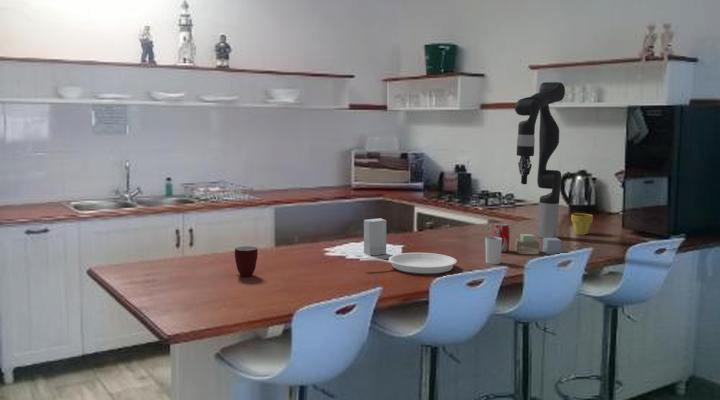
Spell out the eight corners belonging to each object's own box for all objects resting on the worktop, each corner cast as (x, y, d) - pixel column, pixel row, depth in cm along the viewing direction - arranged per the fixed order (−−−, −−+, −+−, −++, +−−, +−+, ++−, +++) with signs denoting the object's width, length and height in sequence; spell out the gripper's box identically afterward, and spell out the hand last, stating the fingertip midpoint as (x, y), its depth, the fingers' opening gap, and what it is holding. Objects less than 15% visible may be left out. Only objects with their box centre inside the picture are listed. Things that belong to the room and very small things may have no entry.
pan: (468, 274, 247) (468, 261, 246) (369, 280, 236) (370, 267, 235) (440, 259, 272) (440, 248, 271) (350, 264, 261) (350, 252, 260)
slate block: (542, 251, 291) (543, 237, 290) (555, 251, 291) (556, 237, 291) (547, 253, 285) (547, 240, 284) (560, 254, 285) (561, 240, 285)
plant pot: (591, 236, 330) (592, 216, 328) (570, 234, 333) (571, 215, 332) (591, 232, 339) (593, 214, 338) (570, 231, 343) (571, 212, 342)
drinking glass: (497, 265, 262) (498, 240, 260) (482, 263, 265) (482, 238, 264) (503, 262, 267) (504, 237, 266) (488, 260, 271) (488, 236, 269)
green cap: (519, 245, 290) (520, 233, 289) (531, 245, 290) (531, 233, 289) (523, 247, 285) (523, 235, 284) (534, 247, 285) (535, 236, 284)
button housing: (515, 250, 292) (515, 239, 291) (533, 250, 292) (533, 239, 291) (520, 253, 284) (520, 242, 283) (538, 254, 284) (539, 242, 283)
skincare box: (380, 252, 283) (380, 217, 282) (386, 254, 278) (387, 220, 276) (362, 253, 280) (363, 219, 278) (369, 256, 274) (369, 221, 273)
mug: (226, 274, 240) (225, 247, 238) (243, 270, 246) (243, 244, 244) (244, 279, 233) (244, 251, 231) (262, 275, 239) (262, 248, 238)
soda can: (509, 253, 285) (510, 225, 284) (492, 252, 287) (493, 225, 285) (508, 249, 292) (509, 223, 291) (492, 249, 293) (493, 222, 292)
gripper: (538, 145, 284) (536, 185, 287) (529, 144, 298) (527, 182, 300) (521, 145, 284) (519, 185, 286) (513, 144, 297) (511, 182, 299)
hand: (523, 184), depth 293 cm, fingers closed
